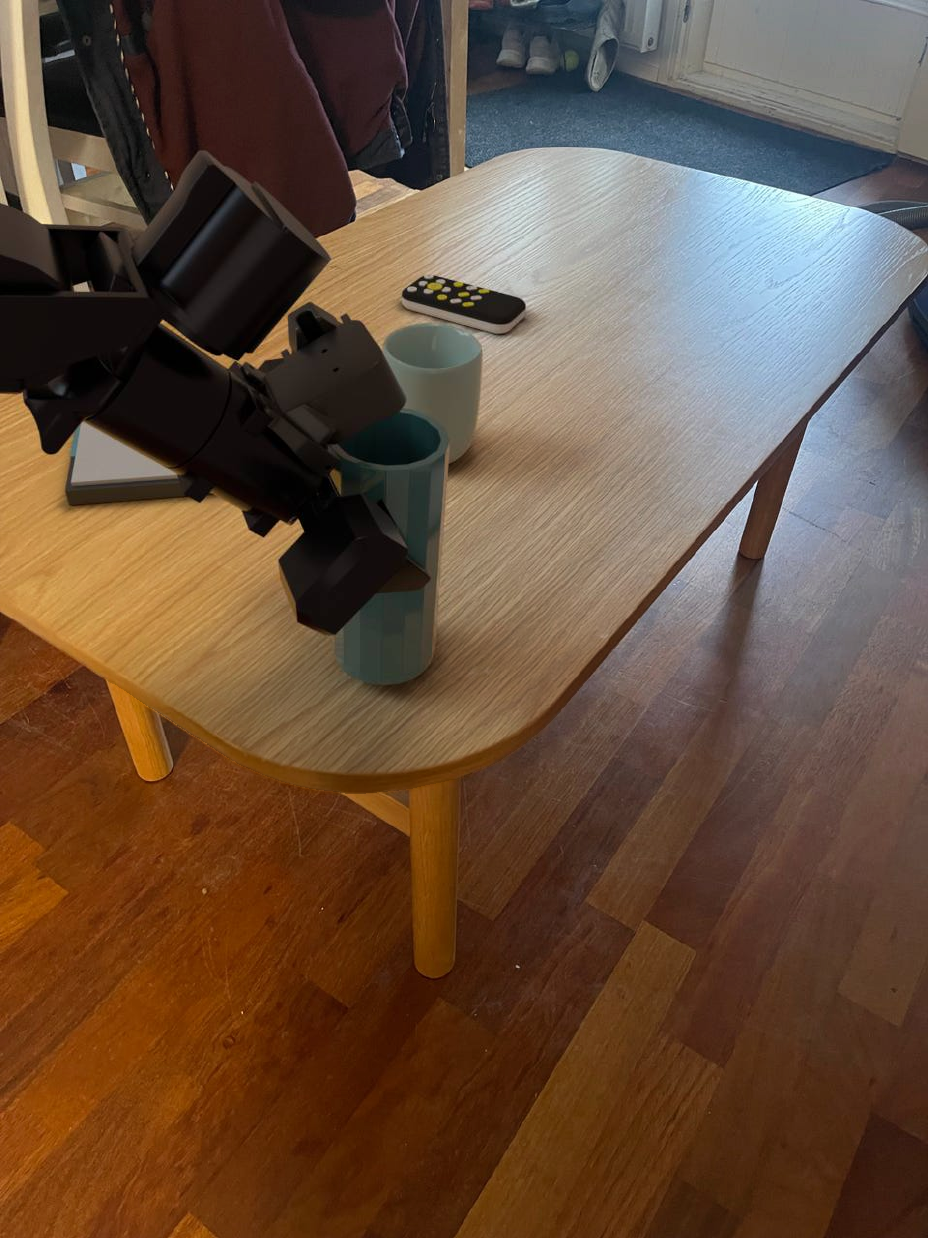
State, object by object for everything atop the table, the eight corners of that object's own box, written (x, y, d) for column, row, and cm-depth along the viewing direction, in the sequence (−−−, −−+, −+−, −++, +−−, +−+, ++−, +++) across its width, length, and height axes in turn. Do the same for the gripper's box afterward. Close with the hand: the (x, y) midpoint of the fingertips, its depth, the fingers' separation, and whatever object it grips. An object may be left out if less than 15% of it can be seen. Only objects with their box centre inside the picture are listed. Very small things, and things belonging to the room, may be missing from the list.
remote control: (504, 338, 96) (506, 320, 95) (396, 308, 100) (396, 290, 99) (529, 315, 100) (531, 296, 99) (424, 286, 104) (424, 269, 103)
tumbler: (339, 690, 59) (334, 473, 48) (328, 620, 64) (321, 408, 53) (442, 679, 60) (460, 466, 50) (424, 612, 65) (436, 404, 54)
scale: (68, 505, 73) (63, 486, 72) (86, 404, 84) (81, 386, 82) (265, 490, 76) (263, 471, 74) (257, 394, 86) (255, 376, 85)
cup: (366, 448, 81) (362, 339, 74) (436, 419, 85) (439, 313, 78) (423, 491, 77) (425, 380, 70) (494, 458, 80) (502, 350, 74)
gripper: (360, 386, 38) (571, 546, 49) (253, 215, 50) (440, 373, 61) (189, 578, 41) (424, 688, 52) (128, 371, 53) (328, 495, 64)
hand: (405, 546), depth 57 cm, fingers closed on tumbler, 7 cm apart
